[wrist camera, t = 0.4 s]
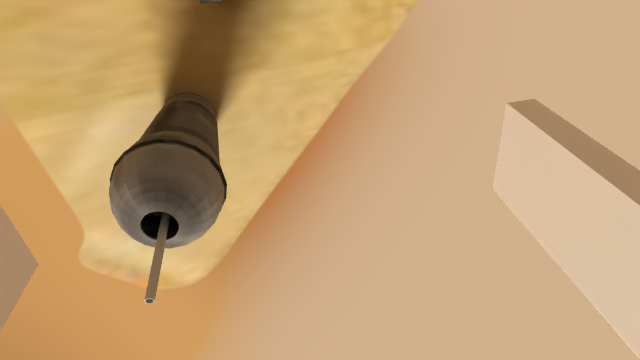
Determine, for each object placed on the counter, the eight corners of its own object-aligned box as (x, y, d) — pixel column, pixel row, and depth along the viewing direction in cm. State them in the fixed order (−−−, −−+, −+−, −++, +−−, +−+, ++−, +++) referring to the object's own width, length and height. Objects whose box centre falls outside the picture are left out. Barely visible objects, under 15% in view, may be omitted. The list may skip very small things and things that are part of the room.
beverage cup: (226, 74, 36) (208, 217, 19) (236, 150, 40) (229, 324, 23) (136, 79, 35) (36, 234, 18) (156, 157, 39) (87, 342, 22)
